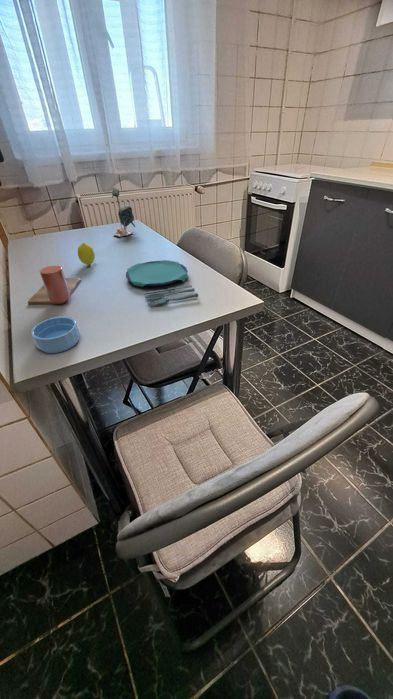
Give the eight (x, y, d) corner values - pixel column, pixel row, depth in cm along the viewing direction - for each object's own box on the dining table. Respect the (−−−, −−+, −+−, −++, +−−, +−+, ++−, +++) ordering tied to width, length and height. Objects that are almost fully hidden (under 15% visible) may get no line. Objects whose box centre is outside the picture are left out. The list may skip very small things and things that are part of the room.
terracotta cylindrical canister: (55, 304, 81) (45, 275, 75) (46, 298, 84) (35, 269, 79) (74, 297, 84) (65, 268, 79) (64, 291, 87) (55, 264, 82)
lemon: (94, 268, 104) (88, 245, 99) (78, 268, 104) (72, 245, 99) (98, 262, 108) (93, 240, 104) (84, 262, 109) (78, 240, 104)
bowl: (49, 360, 63) (42, 344, 60) (30, 342, 68) (24, 328, 66) (88, 340, 68) (84, 326, 66) (68, 326, 73) (63, 312, 71)
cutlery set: (178, 262, 106) (178, 256, 105) (205, 299, 83) (205, 291, 82) (123, 270, 102) (122, 264, 100) (135, 311, 79) (134, 303, 77)
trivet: (63, 304, 83) (62, 300, 82) (28, 304, 83) (27, 301, 82) (81, 280, 96) (80, 277, 95) (51, 281, 96) (50, 278, 95)
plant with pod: (139, 234, 136) (133, 185, 124) (115, 238, 132) (106, 188, 120) (134, 230, 142) (127, 183, 130) (111, 234, 138) (102, 185, 126)
